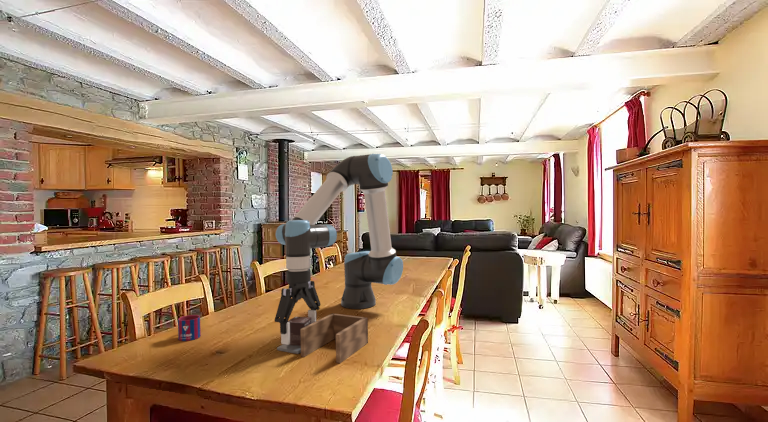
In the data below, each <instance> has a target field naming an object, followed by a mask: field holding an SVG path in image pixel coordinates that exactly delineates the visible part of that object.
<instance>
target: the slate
mask: <svg viewBox="0 0 768 422" xmlns="http://www.w3.org/2000/svg"><path fill="white" fill-rule="evenodd" d="M276 351H280V352H286V353H291V354H297V355H299V354H301V346H295V345H287V344H281V345H279V346H278V347H276Z"/></svg>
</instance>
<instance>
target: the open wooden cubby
mask: <svg viewBox="0 0 768 422" xmlns="http://www.w3.org/2000/svg"><path fill="white" fill-rule="evenodd" d="M368 320H369V319H368V317H365V316H356V315H350V314H349V315H347V314H341V313H340V314H339V313H330V314H328V315H326V316H324V317H322V318H320V319H318V320H316V322H314V323H312V324H310V325H308V326H306V327H304V328H302V329H300V332H301V353H300V357H303V358H305V357H307V356H308V355H310V354H311V353H312V354H313V352H314V351H316V350H318V349H319V348H322V347H323V346H325V345H326V344H327V343H330V342H331V341H333V340H335V363H336V364H342V363H343V362H345V360H347V359H348V358H349V357H351V356H352V355H354V354H355V353H357V352H358V351H359V350H360V349H362V348H363V347H364V346H366V345H367V344H369V325H368V323H369V321H368Z"/></svg>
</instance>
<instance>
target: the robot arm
mask: <svg viewBox="0 0 768 422" xmlns="http://www.w3.org/2000/svg"><path fill="white" fill-rule="evenodd" d="M392 166H393V165H392V163H391V161H390V159H389V158H388V157H387V155H385V154H383V153H370V154H362V155H351V156H349V157H346V158H344V159H343V160H341V161H340V162H339V163H337V164H336V165H334V166H333V168H332V169H331V170H330V171H329V172H328V173H327V174H326V179H325V180H324V182H323V183H322V184H321V185H320V186H319V187H318V188H317V189H316V191H315V192H314V193H313V194H312V196H311V197H310V198H309V199H308V201H306V202H305V204H303V206H302V207H301V208H300V210H299V211H298V212H297V213H296V214H295V215H294V217H293V218H292V219H291V220H287V221H286V223H282V224H280V225H279V226H277V228H276V230H275V238H276V239H275V240H277V242H278V243H279V244H281V245H284V246H285V264H286V265H285V267H286V268H285V269H287V270H286V271H285V281H286V282H287V284H288V288H285V287H282V289H281V292H280V299H279V303H278V306H277V309H276V312H275V316H274V323H279V328H280V329H279V332H280V338H281V342H280V343H281V345H283V344H287V345H289V344H290V322H288V321H289V320H290V317H291V315H292V313H293V311H294V307H295V305H296V304H297V303H298V301H300V300H303V301H304V303H306V305H307V307H308V309H307V317H311V323H314V322H316V321H317V311H319V310H320V307H321V306H322V305H321V301H320V299H319V296H318V295H319V294H318V293H317V290H316V286H315V281H314V280H312V277H311V275H312V274H311V273H312V272H311V269H310V268H311V266H312V265H311V249H317V248H327V247H329V246H333V245H334V244H335V243H336V241H337V237H338V234H337V230H336V228H335V226H333V225H332V224H325V223H323V224H317V222H318V221H319V220H320V219H321V218H322V216H323V215H324V213H325V212H326V211H327V210H328V208H330V206H331V205H332V203H334V201H335V200H336V199H337V197H338V196H339V195H340V194H341V192H345V191H346V190H347V189H348V188H349V187H350V186H351V187H352V186H353V185H358V186H359V187H358V188H359V190H360V191H361V192H362V193H363V195H364V201H365V210H366V219H367V226H368V236H369V242H370V250H365V251H364V250H363V251H356V252H350V253H346V255H344V263H343V265H344V290H343V293H342V297H341V301H340V302H341V303H340V306H341V307H342V308H345V309H351V310H352V309H355V310H357V309H358V310H361V309H368V308H372V307H375V306H376V303H377V301H376V295H375V293H374V290H373V287H372V283H373V284H381V285H385V286H387V285H389V286H391V285H395V284H397V283H398V282H399V281H400V279H401V277H402V275H403V271H404V261H403V259H402V258H401V257H399V256H397V250H396V249H395V248H394V247H392V239H391V230H390V219H389V213H388V205H387V204H388V202H387V196H386V195H387V194H386V190H387V188H388V187H389V183H390V182H391V181H392V179H393V174H394V173H393V167H392Z"/></svg>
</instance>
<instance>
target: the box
mask: <svg viewBox="0 0 768 422" xmlns="http://www.w3.org/2000/svg"><path fill="white" fill-rule="evenodd" d="M288 322H290V344H289V345H295V346H301V332H300V329H302V328H304V327H306V326H308V325H310V324H312V323H311V317H308V316H294V317H292V318H289V320H288Z"/></svg>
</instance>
